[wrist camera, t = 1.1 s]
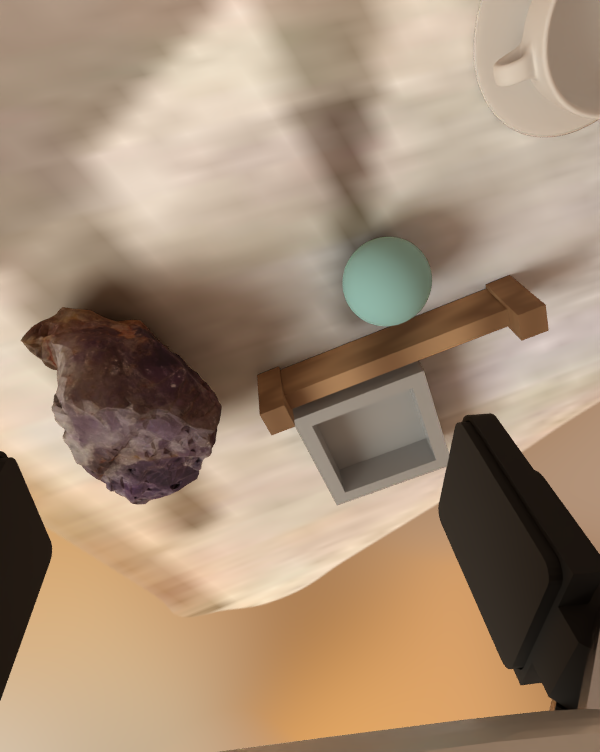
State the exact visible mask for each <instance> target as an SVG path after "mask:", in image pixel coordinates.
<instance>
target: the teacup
mask: <svg viewBox="0 0 600 752" xmlns="http://www.w3.org/2000/svg"><path fill="white" fill-rule="evenodd" d="M474 65H475V72H476V76H477V81H478V84H479V87H480V90H481V93H482V95H483V97H484V99H485V101H486V103H487V105H488V106H489V108H490V109H491V111H492V112H493V113H494V114H495V116H496V117H497V118H498V119H499V120H500V121H502V122H503V123H504V124H505V125H507V126H508V127H509V128H511V129H513V130H515V131H517V132H519V133H522V134H525V135H529V136H535V137H556V136H561V135H565V134H569V133H572V132H575V131H578V130H580V129H582V128H584V127H586V126H588V125H590V124H592V123H594V122H595V121H597V120H599V119H600V0H481V3H480V7H479V10H478V14H477V19H476V25H475V33H474Z"/></svg>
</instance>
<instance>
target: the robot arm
mask: <svg viewBox="0 0 600 752" xmlns="http://www.w3.org/2000/svg"><path fill="white" fill-rule="evenodd" d="M438 509H439V517H440V521H441V524H442V526H443V528H444V530H445V532H446V535H447V537H448V539H449V542H450V544H451V546H452V549H453V551H454V553H455V556H456V558H457V560H458V562H459V565H460V567H461V569H462V571H463V574H464V576H465V578H466V581H467V583H468V585H469V587H470V590H471V592H472V594H473V597H474V599H475V601H476V603H477V605H478V608H479V610H480V612H481V615H482V617H483V619H484V622H485V624H486V626H487V628H488V631H489V633H490V635H491V637H492V640H493V642H494V644H495V647H496V649H497V651H498V653H499V656H500V658H501V660H502V662H503V664H504V665H505V667H506V668H508V669H514V671H515V674H516V676H517V678H518V680H519V683H520V685H527V684H534V683H542V684H543V686H544V688H545V690H546V692H547V694H548V696H549V697H550V698H551V699H552V701H551V706H550V710H549V711H541V712H532V713H523V714H514V715H505V716H495V717H486V718H477V719H468V720H459V721H451V722H443V723H435V724H428V725H420V726H412V727H404V728H396V729H388V730H381V731H373V732H365V733H358V734H350V735H342V736H334V737H326V738H318V739H311V740H303V741H296V742H289V743H281V744H274V745H266V746H258V747H251V748H243V749H236V750H229V751H222V752H600V554H599V553H598V551H597V550H596V549H595V547H594V546H593V545H592V543H591V542H590V540H589V539H588V538H587V536H586V535H585V534H584V532H583V531H582V529H581V528H580V527H579V525H578V524H577V522H576V521H575V520H574V518H573V517H572V516H571V514H570V513H569V511H568V510H567V509H566V507H565V506H564V505H563V503H562V502H561V500H560V499H559V498H558V496H557V495H556V494H555V492H554V491H553V490H552V488H551V487H550V485H549V484H548V482H547V481H546V480H545V478H544V477H543V476H542V475H541V474H540V473H539V472H537V471H535V470H534V469H533V468H532V466H531V465H530V464H529V462H528V461H527V459H526V458H525V457H524V455H523V454H522V452H521V451H520V450H519V448H518V447H517V445H516V444H515V443H514V441H513V440H512V438H511V437H510V436H509V434H508V433H507V431H506V430H505V429H504V427H503V426H502V424H501V423H500V422H499V420H498V419H497V417H496V416H495V415H494V414H491V413H490V414H477V415H467V416H465V417H464V418H463V421H462V422H459V423H457V424H456V426H455V430H454V435H453V440H452V444H451V449H450V454H449V459H448V463H447V468H446V473H445V478H444V482H443V487H442V492H441V497H440V502H439V508H438ZM51 556H52V545H51V541H50V538H49V536H48V534H47V532H46V529H45V527H44V524H43V522H42V520H41V517H40V515H39V513H38V510H37V508H36V506H35V503H34V501H33V499H32V497H31V494H30V492H29V490H28V487H27V485H26V483H25V480H24V478H23V476H22V473H21V471H20V469H19V466H18V464H17V462H16V460H15V459H14V458H11V457H10V458H8V457H7V455H6V454H5V453H4V452H2V451H0V700H1V697H2V694H3V692H4V689H5V686H6V683H7V680H8V678H9V675H10V672H11V669H12V667H13V664H14V661H15V658H16V655H17V653H18V649H19V647H20V644H21V641H22V639H23V636H24V633H25V630H26V627H27V625H28V622H29V619H30V616H31V613H32V611H33V608H34V605H35V602H36V599H37V597H38V594H39V591H40V588H41V585H42V583H43V580H44V577H45V574H46V571H47V569H48V566H49V563H50V559H51Z"/></svg>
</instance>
